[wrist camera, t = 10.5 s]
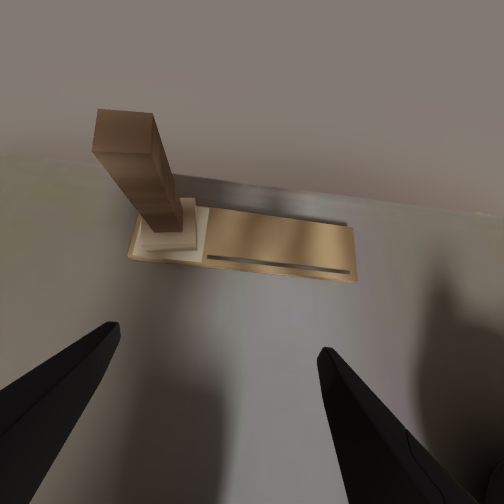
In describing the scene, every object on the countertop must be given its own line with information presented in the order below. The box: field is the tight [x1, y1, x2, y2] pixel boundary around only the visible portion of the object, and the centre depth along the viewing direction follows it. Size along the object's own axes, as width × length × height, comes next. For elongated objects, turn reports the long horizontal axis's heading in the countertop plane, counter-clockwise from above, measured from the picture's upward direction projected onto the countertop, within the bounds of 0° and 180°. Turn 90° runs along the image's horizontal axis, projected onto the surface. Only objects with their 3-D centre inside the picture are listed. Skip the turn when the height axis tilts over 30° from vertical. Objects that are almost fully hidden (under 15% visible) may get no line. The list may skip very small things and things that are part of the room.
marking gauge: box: [92, 109, 198, 252], centre depth 17 cm, size 6×5×13 cm
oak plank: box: [127, 205, 358, 282], centre depth 24 cm, size 26×7×1 cm, turn 86°
